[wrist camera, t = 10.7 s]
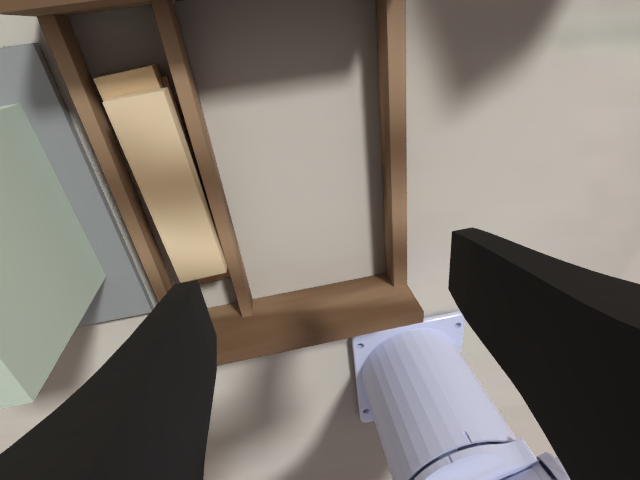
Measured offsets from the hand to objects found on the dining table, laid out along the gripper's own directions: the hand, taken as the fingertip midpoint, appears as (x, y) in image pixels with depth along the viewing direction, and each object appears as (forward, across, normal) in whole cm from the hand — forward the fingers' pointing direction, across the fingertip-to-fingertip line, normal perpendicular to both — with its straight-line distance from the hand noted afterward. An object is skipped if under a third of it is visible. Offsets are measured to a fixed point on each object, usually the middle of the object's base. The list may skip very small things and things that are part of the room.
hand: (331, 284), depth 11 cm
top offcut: (+9, +6, 0) cm, 11 cm away
